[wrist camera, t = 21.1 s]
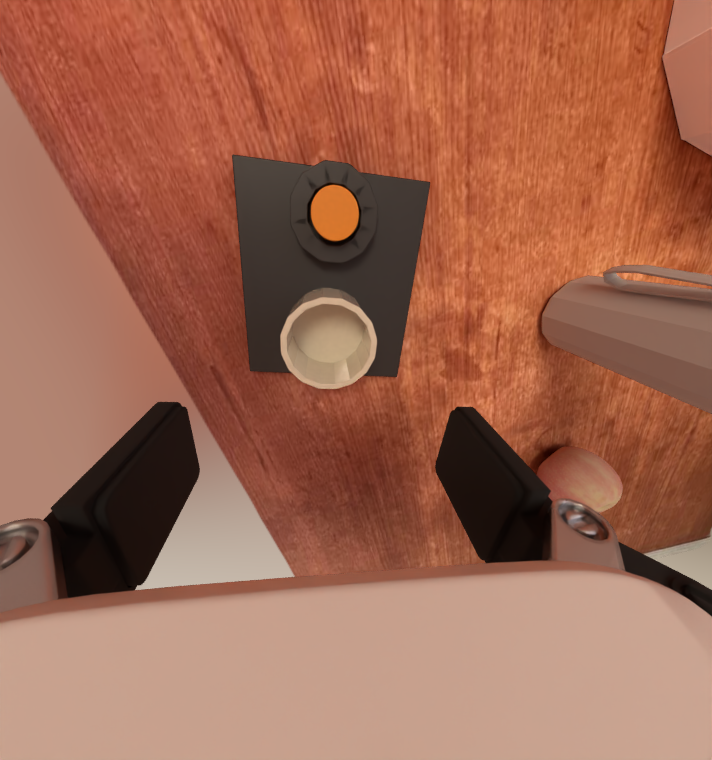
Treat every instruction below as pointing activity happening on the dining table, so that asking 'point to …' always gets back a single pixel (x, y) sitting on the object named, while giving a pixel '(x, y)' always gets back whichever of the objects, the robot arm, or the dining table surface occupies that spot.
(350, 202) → the button
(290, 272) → the scale
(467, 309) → the dining table surface
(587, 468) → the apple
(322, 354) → the bowl
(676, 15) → the container
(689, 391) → the water bottle
